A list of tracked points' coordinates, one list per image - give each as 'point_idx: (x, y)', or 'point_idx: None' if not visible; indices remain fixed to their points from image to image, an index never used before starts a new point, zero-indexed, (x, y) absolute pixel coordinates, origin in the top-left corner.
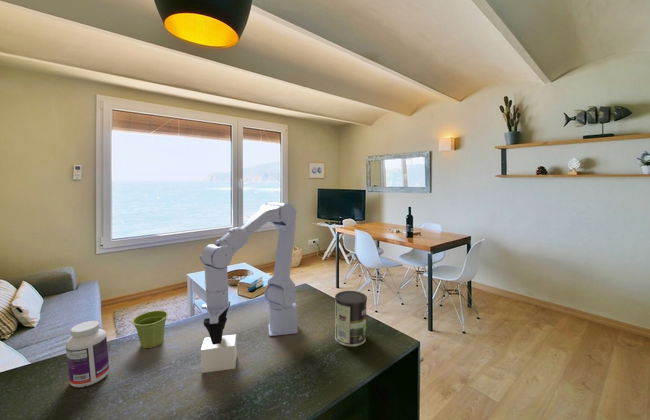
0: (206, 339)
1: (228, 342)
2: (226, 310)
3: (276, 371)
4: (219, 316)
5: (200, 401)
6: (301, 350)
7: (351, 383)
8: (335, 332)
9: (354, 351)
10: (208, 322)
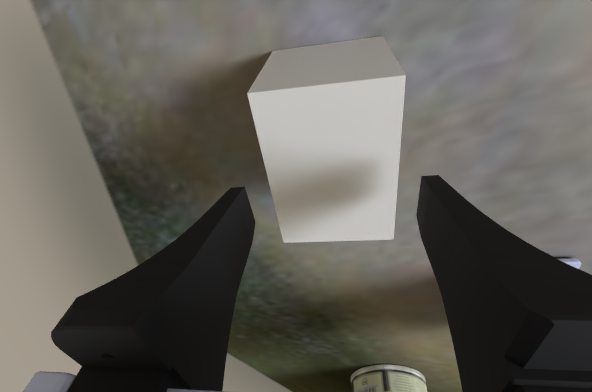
0: (375, 95)
1: (316, 218)
2: (459, 357)
3: (275, 270)
4: (452, 272)
5: (122, 97)
6: (359, 315)
7: (238, 354)
8: (393, 383)
9: (333, 374)
10: (73, 355)
